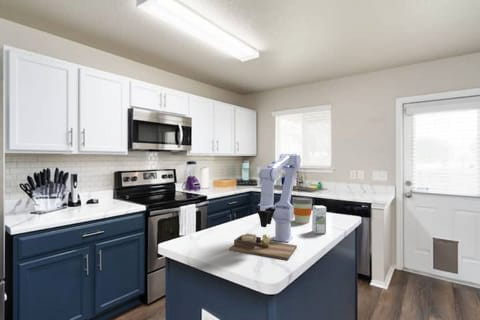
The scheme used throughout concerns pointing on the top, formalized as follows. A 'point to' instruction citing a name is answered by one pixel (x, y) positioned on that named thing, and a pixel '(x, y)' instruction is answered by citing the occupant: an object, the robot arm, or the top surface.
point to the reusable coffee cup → (302, 209)
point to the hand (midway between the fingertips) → (266, 225)
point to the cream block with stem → (253, 239)
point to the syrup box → (319, 220)
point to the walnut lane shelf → (273, 251)
